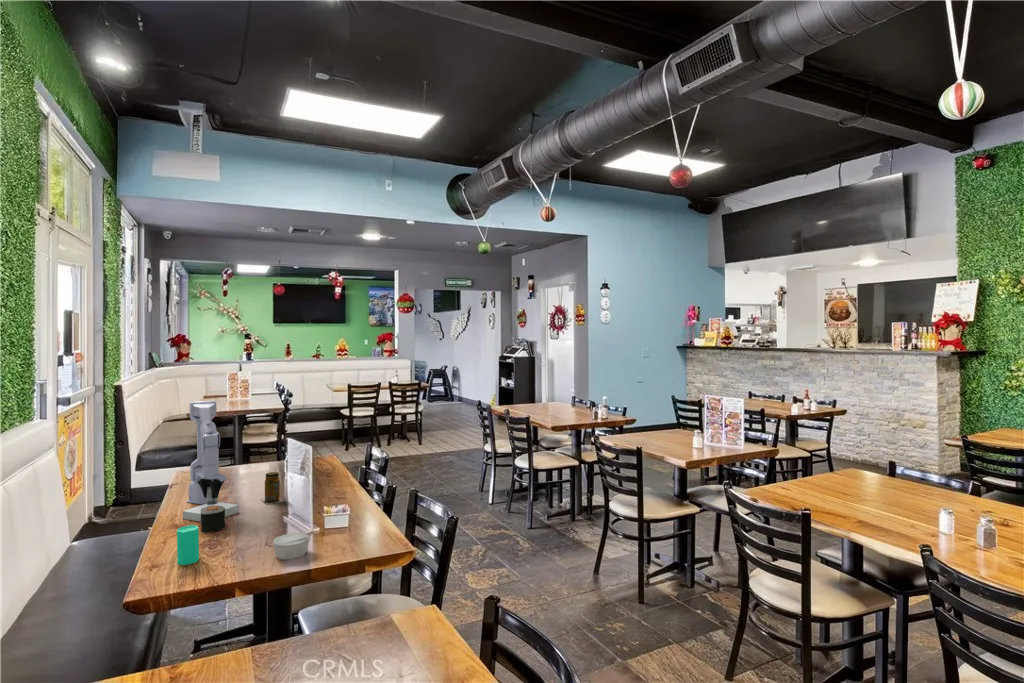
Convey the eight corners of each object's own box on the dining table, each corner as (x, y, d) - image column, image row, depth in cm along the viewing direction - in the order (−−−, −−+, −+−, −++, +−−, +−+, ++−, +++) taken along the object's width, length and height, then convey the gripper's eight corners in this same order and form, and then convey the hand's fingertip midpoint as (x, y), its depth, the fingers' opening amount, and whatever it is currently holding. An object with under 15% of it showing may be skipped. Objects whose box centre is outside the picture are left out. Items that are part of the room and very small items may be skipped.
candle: (183, 557, 179) (182, 520, 178) (202, 557, 179) (202, 520, 179) (173, 565, 173) (172, 527, 172) (193, 564, 173) (193, 526, 173)
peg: (204, 504, 220) (204, 486, 221) (212, 501, 224) (212, 484, 224) (212, 505, 219) (212, 487, 219) (220, 502, 223) (220, 485, 223)
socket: (182, 518, 217) (182, 511, 217) (213, 508, 230) (213, 501, 230) (208, 522, 212) (208, 515, 212) (238, 512, 225) (238, 504, 225)
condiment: (278, 497, 246) (277, 470, 246) (284, 501, 240) (283, 474, 240) (260, 500, 242) (260, 473, 242) (266, 504, 235) (266, 476, 235)
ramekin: (297, 562, 174) (297, 546, 174) (265, 560, 176) (265, 543, 176) (316, 549, 185) (316, 533, 185) (285, 547, 187) (285, 531, 187)
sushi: (225, 523, 212) (225, 502, 211) (224, 530, 204) (224, 508, 204) (201, 526, 208) (201, 505, 208) (199, 533, 201) (199, 512, 200)
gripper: (188, 464, 220) (189, 498, 220) (215, 467, 215) (215, 502, 215) (204, 460, 227) (204, 493, 227) (230, 463, 221) (230, 497, 222)
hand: (211, 497), depth 221 cm, fingers closed on peg, 4 cm apart
